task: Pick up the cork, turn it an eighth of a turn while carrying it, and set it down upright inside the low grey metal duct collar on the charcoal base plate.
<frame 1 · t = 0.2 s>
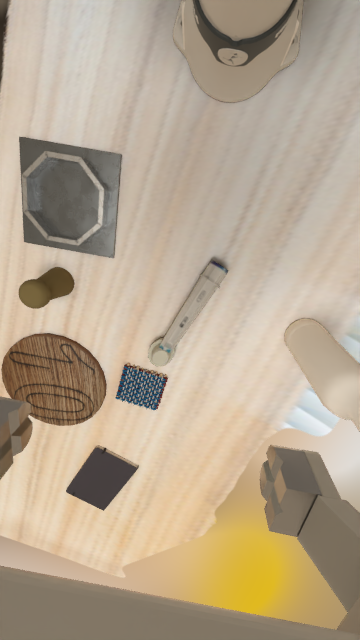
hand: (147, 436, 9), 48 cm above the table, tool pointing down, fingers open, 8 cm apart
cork: (60, 281, 58), on the table
trivet: (57, 379, 68), on the table
duct collar: (70, 201, 52), on the table
woven mat: (142, 384, 67), on the table
toothbrush head: (185, 313, 59), on the table
notebook: (102, 475, 79), on the table
bottle: (303, 335, 58), on the table
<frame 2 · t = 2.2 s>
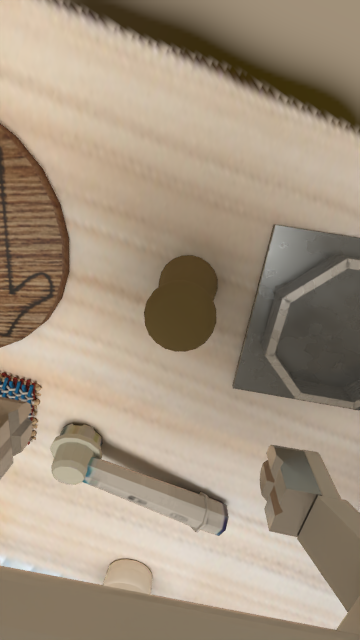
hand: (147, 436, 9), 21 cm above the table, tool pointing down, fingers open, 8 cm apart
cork: (188, 284, 29), on the table
duct collar: (336, 328, 29), on the table
woven mat: (4, 399, 38), on the table
toothbrush head: (145, 465, 39), on the table
bottle: (130, 571, 48), on the table
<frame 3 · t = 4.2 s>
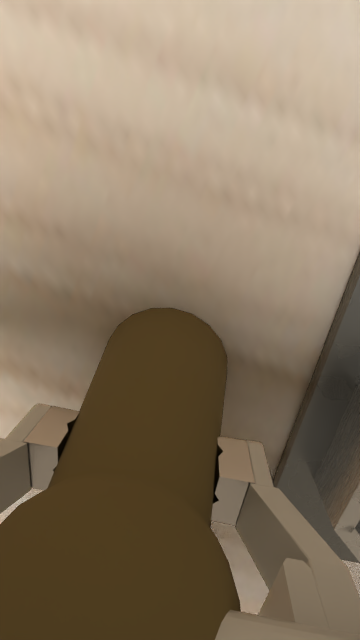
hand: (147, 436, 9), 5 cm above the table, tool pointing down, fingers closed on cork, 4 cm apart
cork: (166, 363, 14), on the table, touching gripper
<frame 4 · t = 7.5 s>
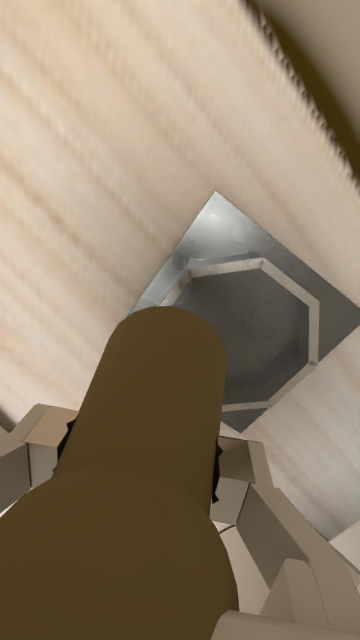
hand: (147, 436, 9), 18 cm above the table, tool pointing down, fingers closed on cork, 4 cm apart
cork: (166, 361, 14), point 13 cm above the table, touching gripper
duct collar: (229, 330, 28), on the table
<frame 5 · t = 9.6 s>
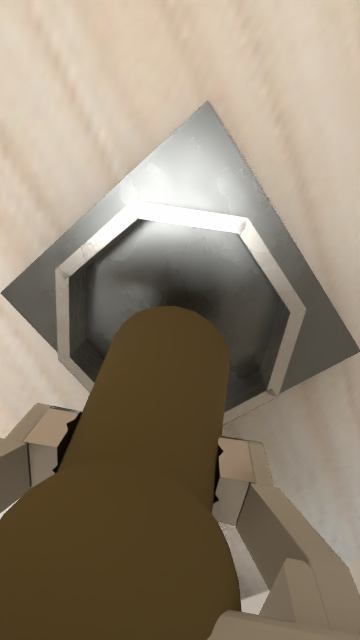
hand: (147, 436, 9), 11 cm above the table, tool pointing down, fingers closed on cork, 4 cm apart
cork: (169, 360, 14), point 6 cm above the table, touching gripper
duct collar: (177, 318, 20), on the table
when the fingers open (7 cm above the table, at t = 11.7 s): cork stays where it is, resting on duct collar.
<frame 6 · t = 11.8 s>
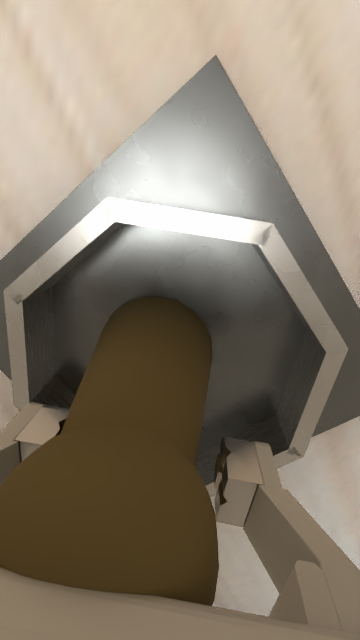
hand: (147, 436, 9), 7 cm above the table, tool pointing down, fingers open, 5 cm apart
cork: (156, 348, 15), point 1 cm above the table, touching duct collar, gripper
duct collar: (171, 348, 16), on the table
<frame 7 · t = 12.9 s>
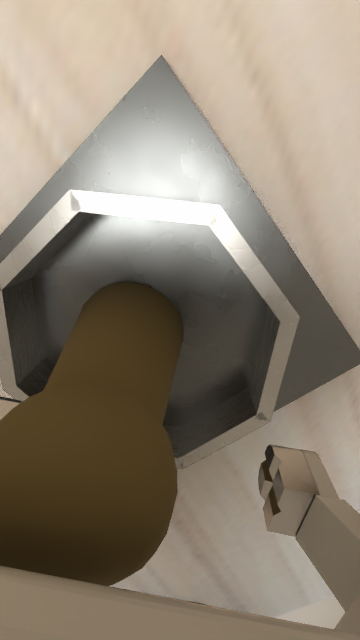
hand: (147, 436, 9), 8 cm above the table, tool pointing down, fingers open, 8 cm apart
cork: (131, 332, 16), point 1 cm above the table, touching gripper
duct collar: (147, 330, 17), on the table
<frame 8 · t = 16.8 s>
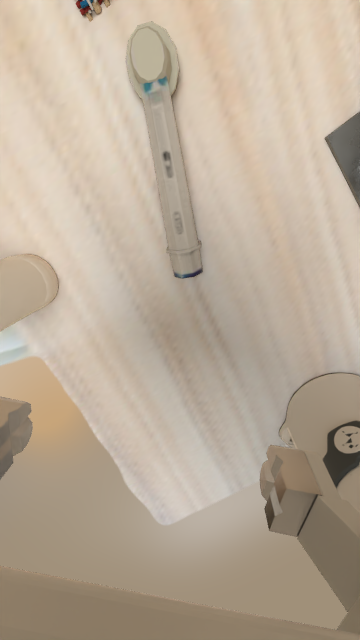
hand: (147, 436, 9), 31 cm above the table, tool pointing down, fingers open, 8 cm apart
toothbrush head: (172, 171, 35), on the table
bottle: (34, 280, 41), on the table
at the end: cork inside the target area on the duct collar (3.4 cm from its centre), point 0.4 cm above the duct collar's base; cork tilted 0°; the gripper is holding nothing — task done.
